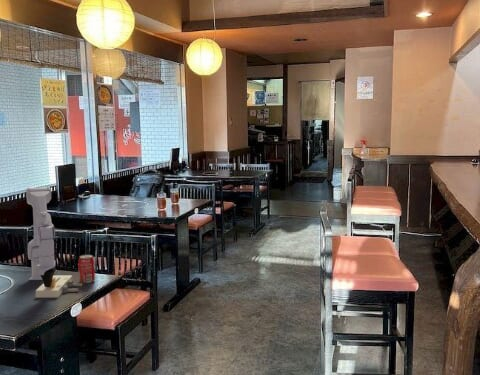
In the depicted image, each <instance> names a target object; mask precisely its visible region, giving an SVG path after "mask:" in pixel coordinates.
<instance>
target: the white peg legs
mask: <svg viewBox="0 0 480 375" xmlns="http://www.w3.org/2000/svg"><path fill="white" fill-rule="evenodd" d="M83 285H84V283H81V282H79V283H78V282H77V283H74V282H73V280H72V281H68V286H63V293H62V294H64V293H66V294H67V293H78V292H79V288H73V287H83Z"/></svg>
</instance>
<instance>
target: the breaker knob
mask: <svg viewBox="0 0 480 375" xmlns="http://www.w3.org/2000/svg"><path fill="white" fill-rule="evenodd" d="M55 285H56V280H55V278H52V283H51V286H50V287H54V286H55Z"/></svg>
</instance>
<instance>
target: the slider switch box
mask: <svg viewBox="0 0 480 375" xmlns="http://www.w3.org/2000/svg"><path fill="white" fill-rule="evenodd" d="M53 278H55V280H56V285H55V286H54V287H45V286H44V283H43V282H42V284H41V285H39V287H38V288H37V289H36V290H35V298H38V299H39V298H59V297H60V296H61V295H62V294H64V293H63V286H68V281H73V275H71V274H70V275H68V274H67V275H66V274H65V275H61V274H60V275H58V274H57V275H56V274H54V275H53Z"/></svg>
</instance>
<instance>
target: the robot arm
mask: <svg viewBox="0 0 480 375" xmlns="http://www.w3.org/2000/svg"><path fill="white" fill-rule="evenodd" d="M51 190H52V189H51V187H50V186H45V187H27V188H26V190H25V191H26V192H25V193H26V194H25V196H26V203H27V204H28V205H30V206H31V207H32V217H33V218H32V220H33V239H31V240H30V241H29V242H28V243H27V258H28V260H31V261H30V262H31V277H29V278H28V281H42V284H43V283H44V286H45V287H50V286H51V283H52V278H53V275H55V272H56V260H55V241H54V240H55V239H56V231H55V230H56V229H55V226H54V224H53V223H52V216H51V214H50V213H49V212H48V208H47V205H48V204H49V203H50V201H51V200H52V191H51Z"/></svg>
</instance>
